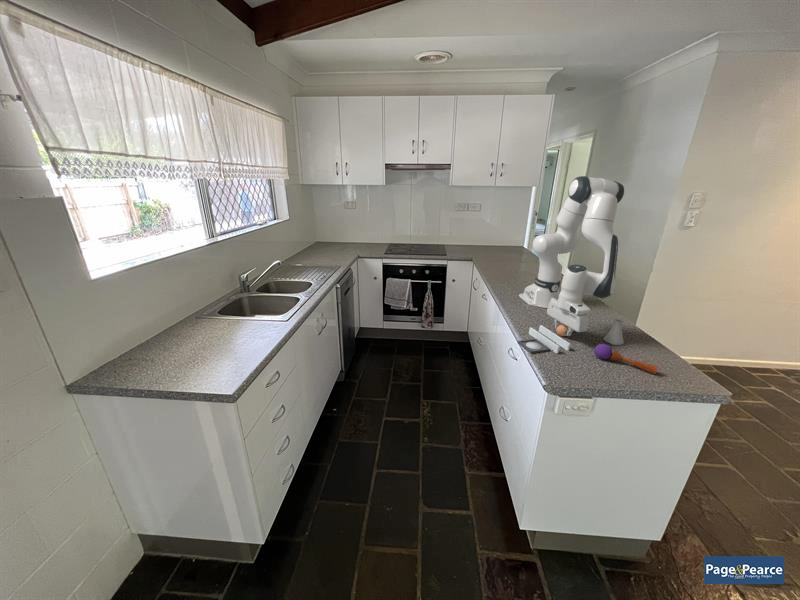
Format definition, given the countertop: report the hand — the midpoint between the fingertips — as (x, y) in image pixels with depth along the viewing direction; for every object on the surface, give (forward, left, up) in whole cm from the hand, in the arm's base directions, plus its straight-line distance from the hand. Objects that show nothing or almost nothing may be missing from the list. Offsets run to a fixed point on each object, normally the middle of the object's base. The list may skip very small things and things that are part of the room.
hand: (562, 332), depth 143 cm
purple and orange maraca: (+25, +6, -2) cm, 26 cm away
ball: (0, 0, -2) cm, 2 cm away
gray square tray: (+6, -19, -2) cm, 20 cm away
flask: (+10, +18, -2) cm, 21 cm away
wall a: (+3, -7, -2) cm, 8 cm away
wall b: (+4, -13, -2) cm, 14 cm away
